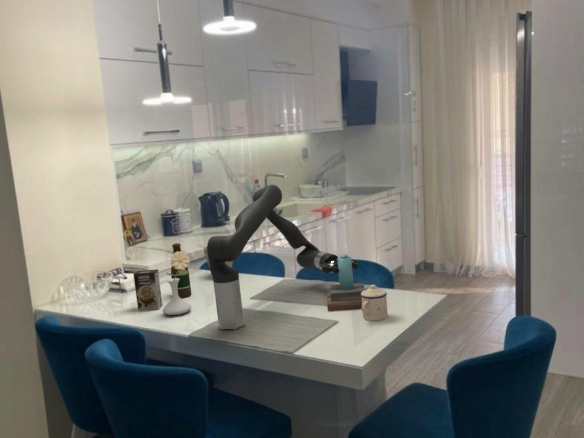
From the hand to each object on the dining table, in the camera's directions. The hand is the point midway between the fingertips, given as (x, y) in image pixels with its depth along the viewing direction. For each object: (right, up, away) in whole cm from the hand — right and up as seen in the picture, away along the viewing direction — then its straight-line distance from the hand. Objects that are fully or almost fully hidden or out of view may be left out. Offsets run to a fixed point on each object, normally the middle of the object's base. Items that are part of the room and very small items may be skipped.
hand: (348, 268), depth 211 cm
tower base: (+1, -14, +4) cm, 14 cm away
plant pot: (-56, -10, +64) cm, 86 cm away
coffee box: (-81, -19, +23) cm, 86 cm away
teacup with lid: (+7, -16, -17) cm, 24 cm away
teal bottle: (0, -8, +3) cm, 8 cm away
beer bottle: (-70, -16, +37) cm, 81 cm away
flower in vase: (-67, -19, +13) cm, 71 cm away
